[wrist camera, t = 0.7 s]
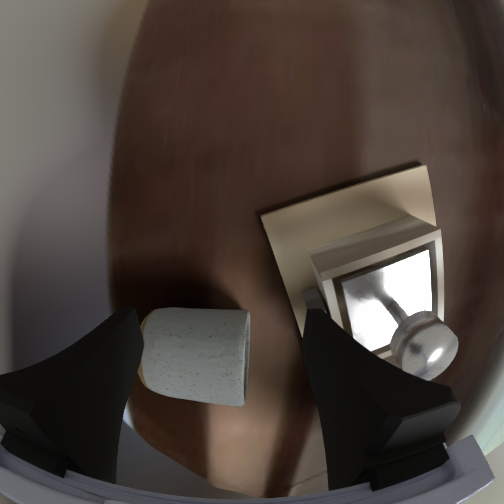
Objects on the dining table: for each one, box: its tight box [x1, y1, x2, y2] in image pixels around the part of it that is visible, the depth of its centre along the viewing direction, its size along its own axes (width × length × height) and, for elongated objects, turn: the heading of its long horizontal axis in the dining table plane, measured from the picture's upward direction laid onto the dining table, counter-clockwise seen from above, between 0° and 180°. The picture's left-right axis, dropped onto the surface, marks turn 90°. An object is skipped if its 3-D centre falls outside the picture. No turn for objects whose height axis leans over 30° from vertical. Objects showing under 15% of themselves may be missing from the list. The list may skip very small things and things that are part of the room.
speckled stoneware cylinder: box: [138, 307, 250, 407], centre depth 21 cm, size 11×8×8 cm
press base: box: [261, 165, 444, 359], centre depth 20 cm, size 16×14×5 cm
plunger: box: [340, 248, 458, 381], centre depth 15 cm, size 7×7×6 cm
